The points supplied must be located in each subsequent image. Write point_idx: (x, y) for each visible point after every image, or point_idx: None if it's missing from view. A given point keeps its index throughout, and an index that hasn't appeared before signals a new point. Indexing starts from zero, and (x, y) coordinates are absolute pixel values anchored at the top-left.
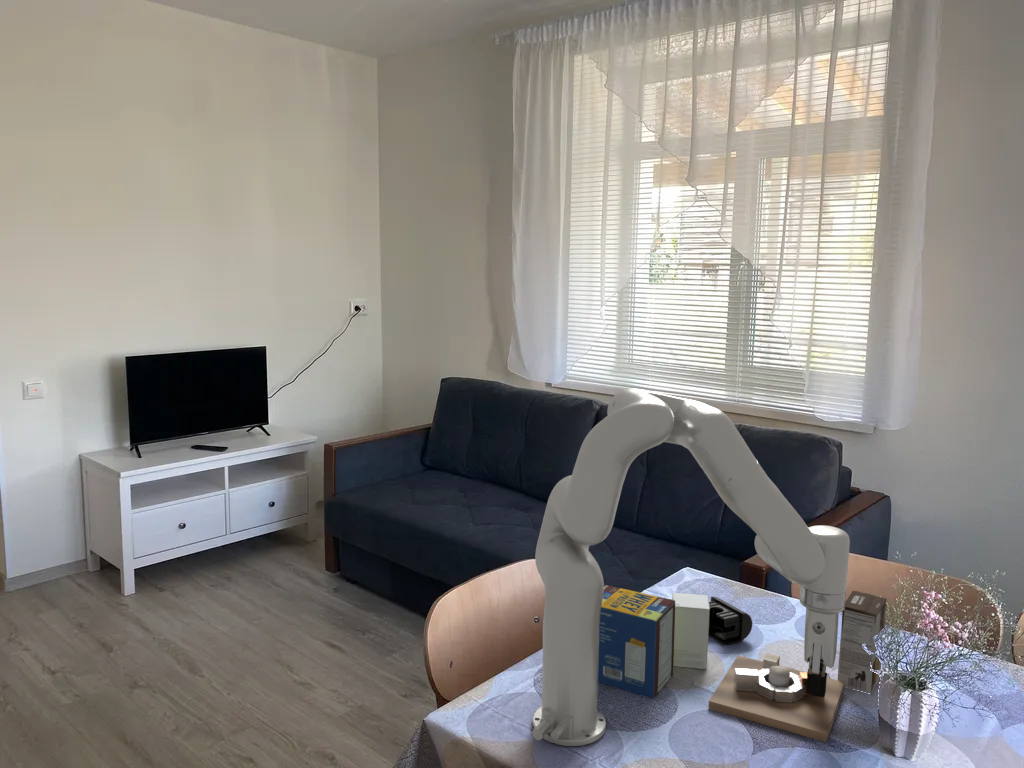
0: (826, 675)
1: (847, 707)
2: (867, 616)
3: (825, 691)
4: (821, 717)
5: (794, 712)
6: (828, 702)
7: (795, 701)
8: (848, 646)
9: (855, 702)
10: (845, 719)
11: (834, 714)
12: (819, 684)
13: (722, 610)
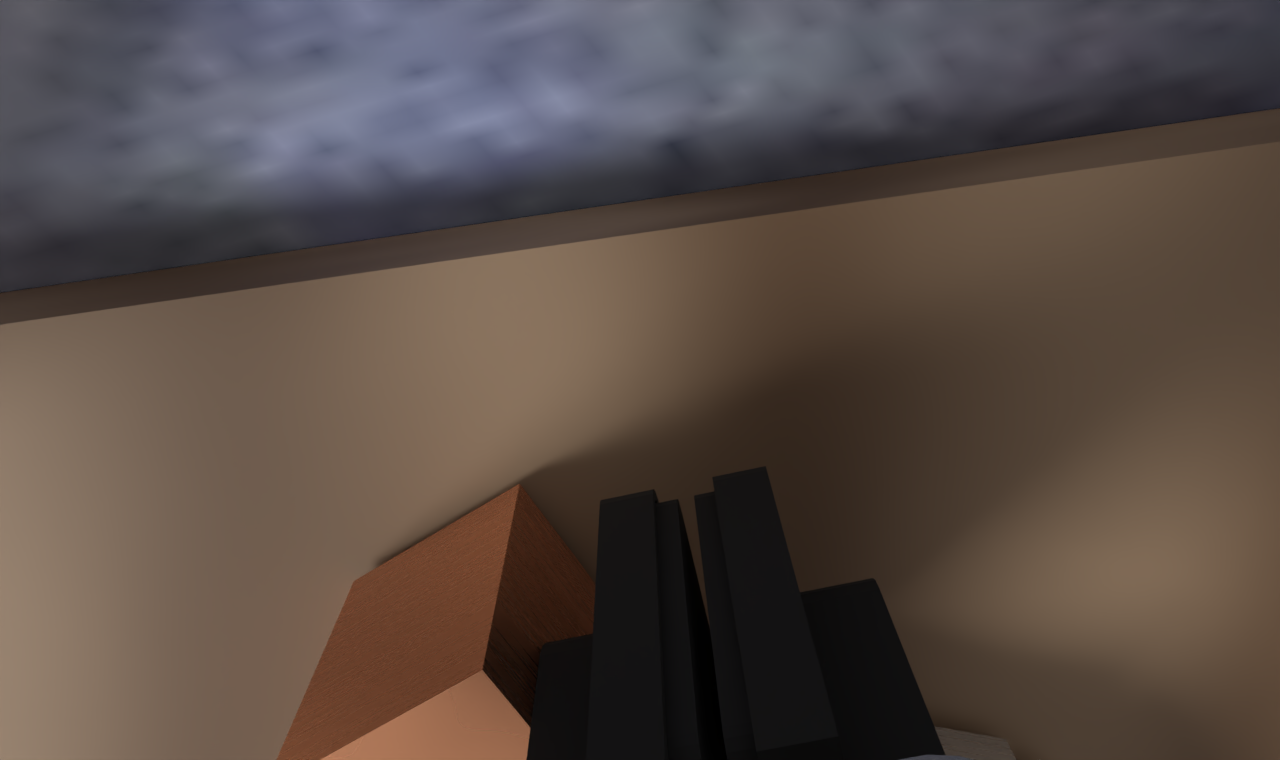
0: (760, 752)
1: (343, 106)
2: None
3: (652, 508)
4: (1217, 310)
5: (1265, 653)
6: (654, 366)
7: (982, 738)
8: None
9: (80, 44)
10: (744, 19)
11: (858, 186)
12: (913, 699)
13: None
